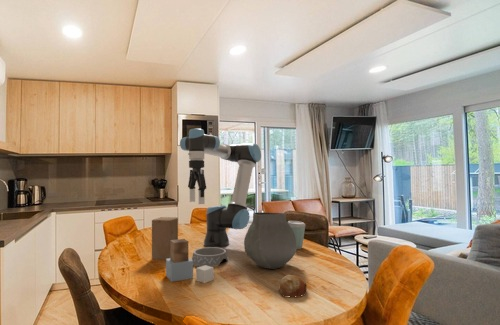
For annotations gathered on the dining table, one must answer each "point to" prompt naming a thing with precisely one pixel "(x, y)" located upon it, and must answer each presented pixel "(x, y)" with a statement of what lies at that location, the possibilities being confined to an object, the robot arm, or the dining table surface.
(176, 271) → the slate block
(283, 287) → the bread roll
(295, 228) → the disposable coffee cup
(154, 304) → the dining table surface
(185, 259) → the walnut block
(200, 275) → the grey cube
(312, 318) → the dining table surface
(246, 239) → the ceramic pot
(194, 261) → the dog bowl
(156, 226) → the wooden block
